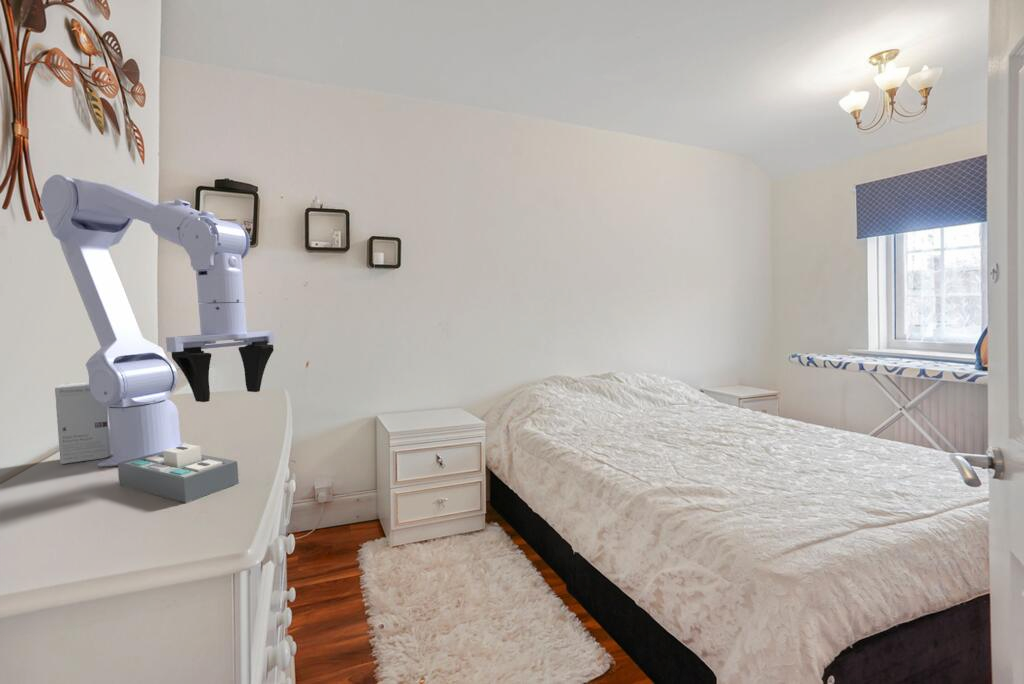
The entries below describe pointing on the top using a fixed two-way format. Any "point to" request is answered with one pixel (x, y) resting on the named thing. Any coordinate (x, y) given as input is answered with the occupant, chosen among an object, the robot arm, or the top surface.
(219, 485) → the console
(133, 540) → the top surface
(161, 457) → the button
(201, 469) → the button
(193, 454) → the button middle
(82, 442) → the skincare box
